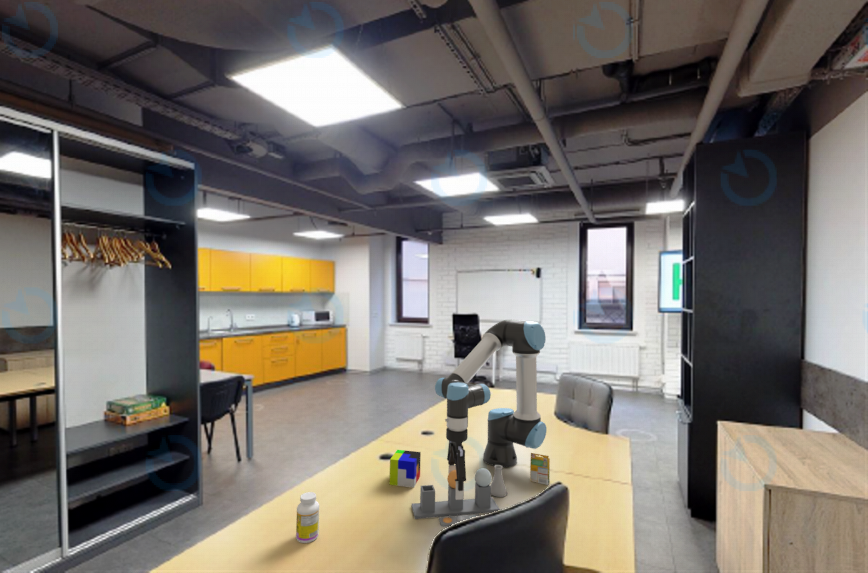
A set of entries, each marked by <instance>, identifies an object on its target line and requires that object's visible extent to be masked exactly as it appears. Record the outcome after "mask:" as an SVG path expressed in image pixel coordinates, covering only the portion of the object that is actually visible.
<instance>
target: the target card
mask: <svg viewBox="0 0 868 573" xmlns="http://www.w3.org/2000/svg"><path fill="white" fill-rule="evenodd" d="M476 516H480V517H481V515H480V514H469V515H457V516H445V517H438V520H439V524H440V527H441V526H443V527H451V526H450V525H452V524H455V523H457V522H460V521H463V520H466V519H470V518H472V517H476ZM443 527H442V528H443Z"/></svg>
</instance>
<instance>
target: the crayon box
mask: <svg viewBox="0 0 868 573" xmlns="http://www.w3.org/2000/svg"><path fill="white" fill-rule="evenodd" d="M550 460H551V459H550V458H549V455H546V454H545V455H544V454H539V453H536V452H535V453H534V452H533V453H532V452H530V464H529V465H530V467H529V468H530V470H529V471H530V472H529V473H530V474H529V482H532V483H537V484H542V485H546V486H548V485H549V484H550V471H551V470H550V467H551V466H550V464H551V461H550Z"/></svg>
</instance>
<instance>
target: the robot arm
mask: <svg viewBox="0 0 868 573" xmlns="http://www.w3.org/2000/svg"><path fill="white" fill-rule="evenodd" d="M545 343H546V332H545V330H544V328H543V326H542V324H540V323H539V322H537V321H531V320H522V319H521V320H518V319H505V320H501V321H499V322H497V323H495V324H494V325H492V326H491V327H490V328H488V330H486V331H485V332H484V333H483V335H482V337H481V340H480V341H479V342H478V343H477V345H476V346H475V347H474V348H473V349H472V350H471V352H469V353H468V355H467V356H465V358H464V359H463V360H462V361H461V362H460V363H459V364H458V365H457V367H456V368H455V369H454V370H453V371H452V372H451V373H450V374H449V375H448V376H447V377H440V378H438V379H437V380H436V381H435V382H436V383H435V385H434V391H435V394H436V395H437V396H438V397H441V398H443V399H446V418H445V419H444V420H445V422H446V429H445V430H446V431H445V433H446V434H445V436H446V440H447V441H448V448H447V458H446V460H447V463H448V474H447V476H448V475H449V473H450V472H451V471H453V470H456V476H457V479H455V481H456V496H455V499H456V500H460V499H463V500H465V499H464V498H465V497H464V496H465V482H466V481H467V473H466V472H467V468H466V450H465V448H464V445H463V443H464V442H465V441H467V440H468V427H469V409H471V408H475V407H478V406H482V405H484V404H487V403H488V402H489V401H490V399H491V394H492V393H491V389H490V388H489V386H487V385H486V384H485V383H476V384H474V383H473V384H472V383H470V381H471V380H472V379H473V378H474V377H475V375H476V374H477V373H478V372H479V370H481V369H482V368H483V366H484V365H485V364H486V363H487V362H488V360H490V358H491V357H492V356H493V354H495V352H497V351H500V350H502V348H503V347H506V346H507V347H512V348H511V349H512V350H511V351H512V354H514V356H515V384H516V385H515V387H516V390H515V391H516V396H515V397H516V410H515V411H514V409H513V408H508V407H499V408H493V409H491V410H489V411H488V413H487V414H488V415H487V416H488V417H487V443H486V445H485V449H484V451H483V454H482V455H483V456H482V457H483V458H482V459H483V462H484V463H486V464H487V465H489V466H492V467H494V466H495V465H501V466H502V467H503V468H510V467H513V466H515V465H517V463H518V457H517V452H516V449H515V446H514V444H517V445H520V446H523V447H525V448H528V449H529V448H530V449H533V450H536V449H539V447H541V446H542V444H543V443H544V441H545V439H546V435H547V425H546V423H545V422H543V421H542V420H541V419H542V418H541V414H540V413H539V412H538V398H537V396H538V394H537V393H538V389H537V388H538V385H537V381H538V380H537V378H538V377H537V374H538V373H537V357H538V355H539V354H540V353H541V350H542V349H544V347H545Z"/></svg>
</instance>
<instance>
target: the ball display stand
mask: <svg viewBox="0 0 868 573" xmlns="http://www.w3.org/2000/svg"><path fill="white" fill-rule="evenodd" d="M447 484H448V483H447ZM474 485H475V487H474V498H467V499H460V500H456V499H455V496H456V489H454V488H452V487H451V486H450V485H449V484H448V486H447V487H448V488H447V490H448V491H447V500H441V501H436V489H435V486H434V485H433V484H426V485H425V484H424V485H420V491H419V492H420V495H419V496H420V497H419V498H420V499H419V500H420V501H419V502H417V503H415V502H414V503H411V509H412V514H413V518H414V520H419V519H431V518H432V519H433V518H439V517H450V516H462V515H474V514H479V515H480V514H489V513H490V514H491V512H492V513H495V512H494V511H498V510H500V511H501V509H500V507H499V506H498V504H497V502H496V500H494V497H491V496H492V495H491V484H489V485H488V486H486V487H482V486H479V485H478V484H477V483H476V481H475V484H474Z"/></svg>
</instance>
